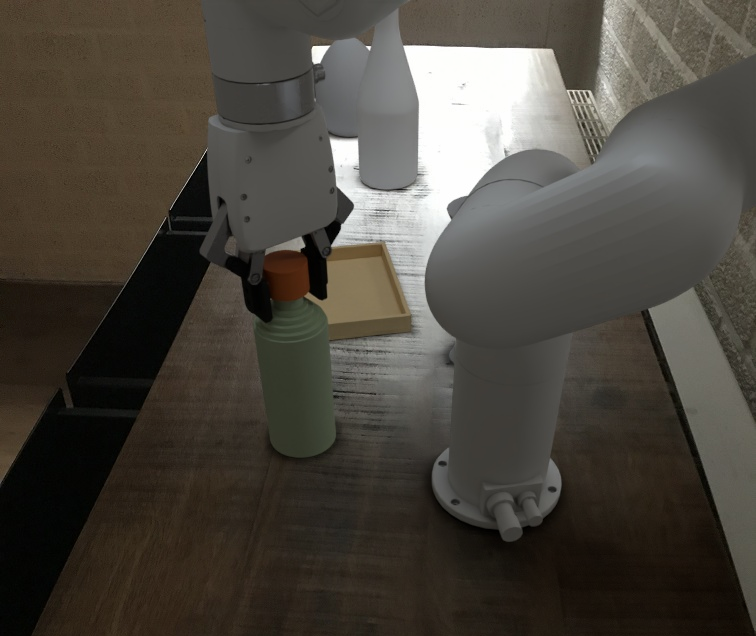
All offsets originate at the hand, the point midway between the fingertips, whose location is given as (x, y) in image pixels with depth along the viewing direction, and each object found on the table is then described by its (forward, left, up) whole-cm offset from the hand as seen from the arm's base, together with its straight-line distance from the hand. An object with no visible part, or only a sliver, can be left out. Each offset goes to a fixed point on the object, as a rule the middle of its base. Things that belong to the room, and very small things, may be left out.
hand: (288, 303), depth 73 cm
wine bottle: (+62, -20, -16) cm, 67 cm away
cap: (0, 0, +1) cm, 1 cm away
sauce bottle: (0, 0, -16) cm, 16 cm away
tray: (+27, -8, -16) cm, 32 cm away
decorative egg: (+85, -17, -16) cm, 88 cm away
